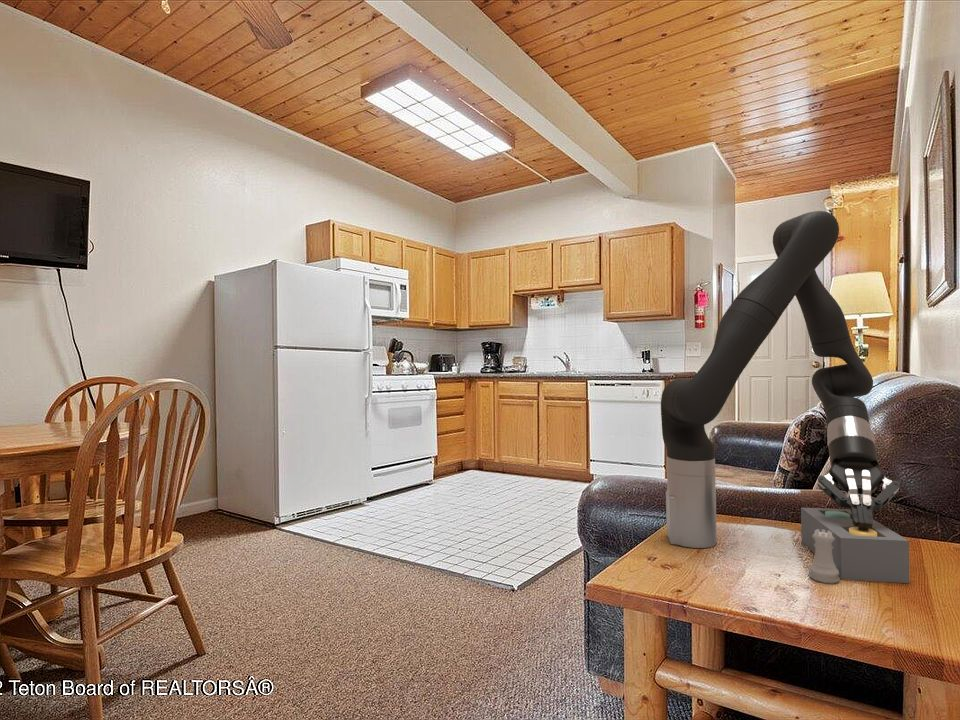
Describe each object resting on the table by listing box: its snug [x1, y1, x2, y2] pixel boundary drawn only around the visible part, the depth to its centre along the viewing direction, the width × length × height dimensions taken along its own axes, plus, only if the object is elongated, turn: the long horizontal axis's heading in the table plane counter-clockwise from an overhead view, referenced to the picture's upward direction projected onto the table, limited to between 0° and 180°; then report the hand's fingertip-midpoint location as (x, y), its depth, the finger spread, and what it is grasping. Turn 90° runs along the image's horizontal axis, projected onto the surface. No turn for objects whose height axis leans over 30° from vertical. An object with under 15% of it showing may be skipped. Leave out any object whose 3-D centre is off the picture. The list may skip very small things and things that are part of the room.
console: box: [800, 507, 911, 584], centre depth 99 cm, size 10×18×7 cm, turn 168°
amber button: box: [849, 527, 877, 537], centre depth 94 cm, size 4×4×4 cm
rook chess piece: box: [808, 529, 841, 585], centre depth 91 cm, size 4×4×8 cm
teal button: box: [825, 511, 850, 519], centre depth 103 cm, size 4×4×4 cm
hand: (864, 528), depth 93 cm, fingers closed
